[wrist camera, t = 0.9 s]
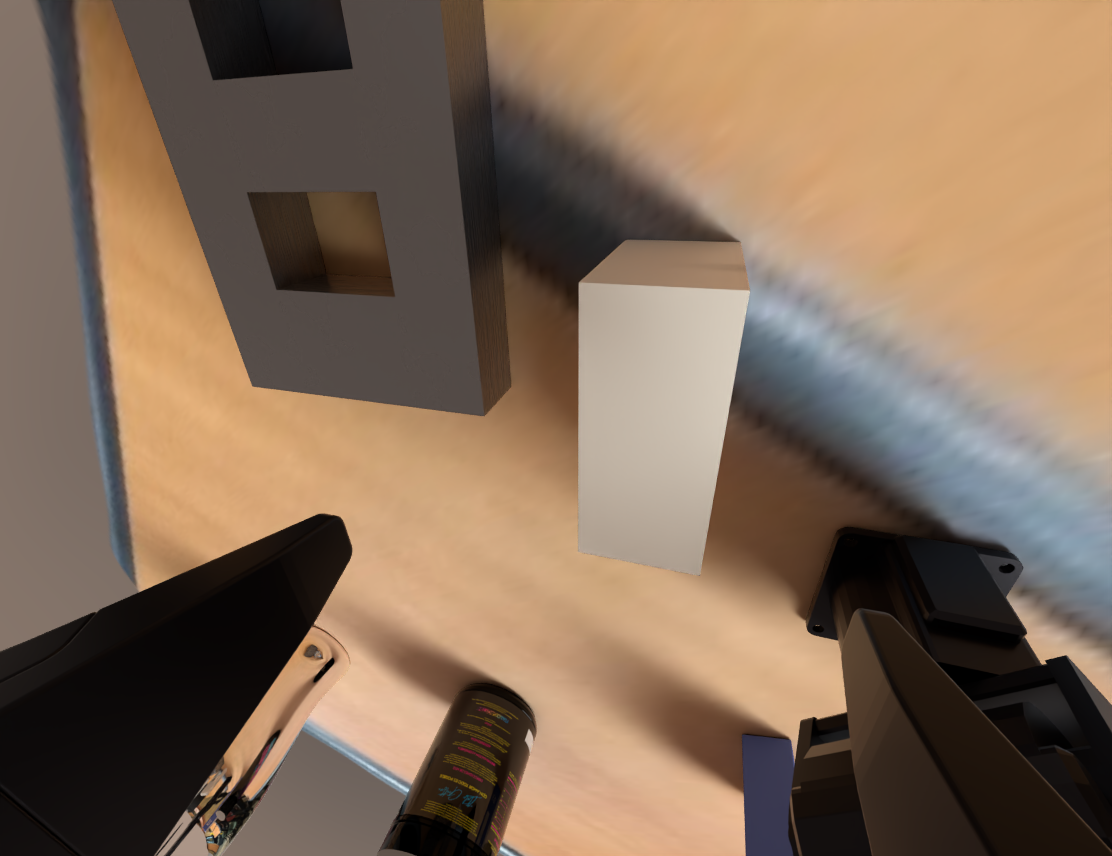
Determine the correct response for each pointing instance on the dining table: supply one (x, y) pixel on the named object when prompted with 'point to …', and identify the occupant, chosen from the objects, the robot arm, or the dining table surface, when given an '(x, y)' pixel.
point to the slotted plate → (340, 166)
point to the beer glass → (258, 750)
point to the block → (656, 396)
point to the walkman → (767, 794)
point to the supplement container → (466, 778)
